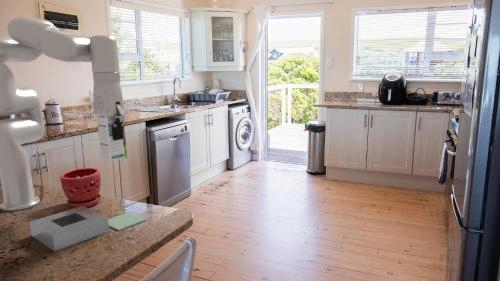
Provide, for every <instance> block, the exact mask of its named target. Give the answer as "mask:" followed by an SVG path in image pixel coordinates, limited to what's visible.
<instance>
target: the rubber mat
mask: <svg viewBox="0 0 500 281" xmlns="http://www.w3.org/2000/svg"><path fill="white" fill-rule="evenodd" d="M146 221H148V220H147V218H145V217H142V216H140V215H137V214H135V213H132V212H130V211H129V212H126V213H123V214H120V215H116V216H114V217H111V218H108V224H109V228H111V229H114V230H115V231H118V232H121V231H123V230H126V229H128V228H131V227H133V226H136V225H139V224H142V223H144V222H146Z"/></svg>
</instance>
